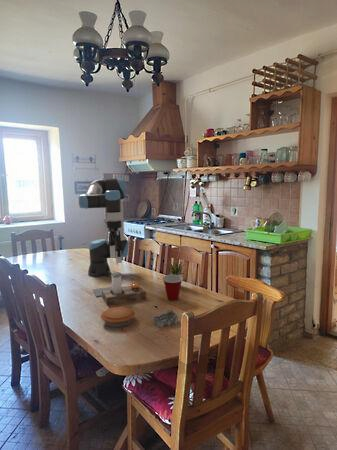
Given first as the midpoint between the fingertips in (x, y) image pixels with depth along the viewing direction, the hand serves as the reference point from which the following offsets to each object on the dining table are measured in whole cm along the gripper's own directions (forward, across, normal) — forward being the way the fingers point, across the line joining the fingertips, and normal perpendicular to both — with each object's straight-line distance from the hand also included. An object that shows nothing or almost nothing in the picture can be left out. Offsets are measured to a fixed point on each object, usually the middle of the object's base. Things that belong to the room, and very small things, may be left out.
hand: (115, 260), depth 168 cm
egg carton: (+22, +37, +13) cm, 45 cm away
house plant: (+22, -4, +38) cm, 44 cm away
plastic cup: (+22, +13, +27) cm, 37 cm away
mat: (+22, -14, -4) cm, 26 cm away
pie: (+22, +27, -6) cm, 35 cm away
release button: (+20, 0, +10) cm, 23 cm away
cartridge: (+22, 0, 0) cm, 22 cm away
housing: (+22, 0, +4) cm, 22 cm away
